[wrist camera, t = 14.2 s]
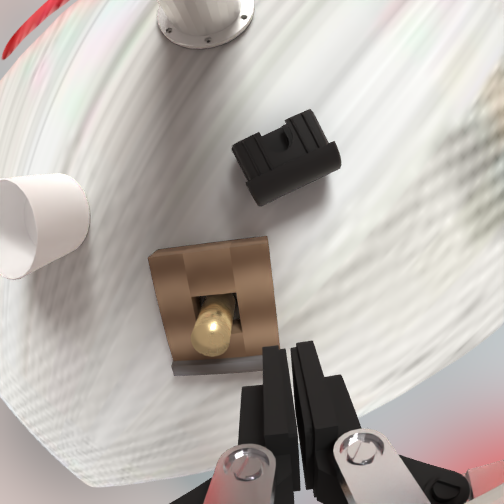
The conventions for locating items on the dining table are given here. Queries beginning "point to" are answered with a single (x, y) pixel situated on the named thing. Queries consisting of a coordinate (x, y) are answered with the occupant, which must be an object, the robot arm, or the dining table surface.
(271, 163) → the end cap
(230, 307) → the gold peg
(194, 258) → the jig
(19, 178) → the cup
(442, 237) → the dining table surface
